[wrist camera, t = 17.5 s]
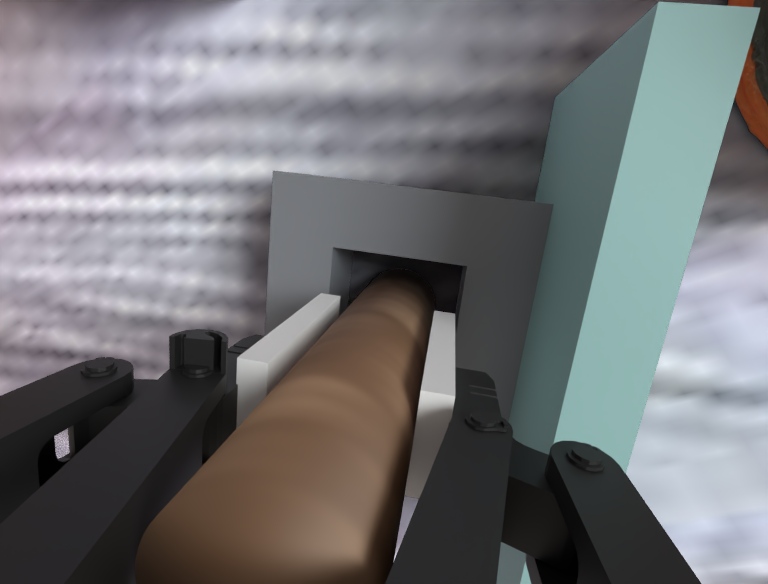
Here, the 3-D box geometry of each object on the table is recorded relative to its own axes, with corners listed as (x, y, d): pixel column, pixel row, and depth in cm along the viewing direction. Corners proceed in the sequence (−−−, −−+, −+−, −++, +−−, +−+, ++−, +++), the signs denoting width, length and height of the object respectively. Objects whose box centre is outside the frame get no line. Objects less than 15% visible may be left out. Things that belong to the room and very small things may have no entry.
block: (291, 378, 24) (260, 414, 20) (305, 174, 21) (273, 170, 18) (492, 415, 23) (500, 460, 19) (534, 201, 20) (553, 204, 16)
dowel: (360, 331, 22) (138, 667, 6) (368, 263, 21) (131, 464, 6) (430, 343, 21) (367, 731, 6) (440, 274, 21) (398, 522, 5)
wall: (478, 489, 24) (494, 692, 14) (555, 97, 19) (658, 1, 9) (515, 496, 24) (557, 708, 14) (602, 101, 19) (760, 7, 9)
